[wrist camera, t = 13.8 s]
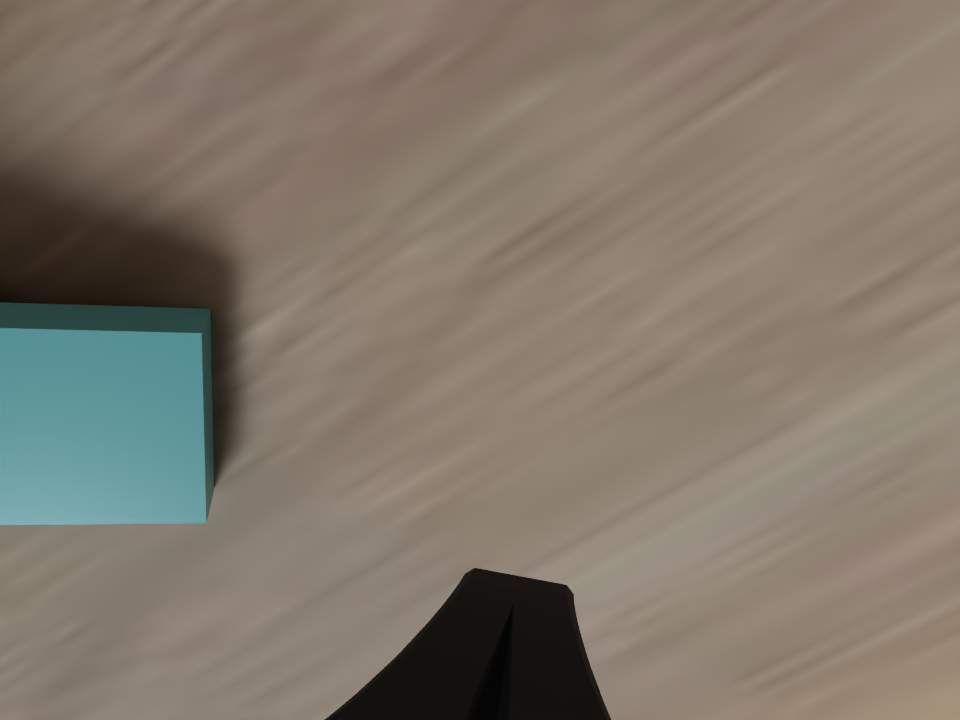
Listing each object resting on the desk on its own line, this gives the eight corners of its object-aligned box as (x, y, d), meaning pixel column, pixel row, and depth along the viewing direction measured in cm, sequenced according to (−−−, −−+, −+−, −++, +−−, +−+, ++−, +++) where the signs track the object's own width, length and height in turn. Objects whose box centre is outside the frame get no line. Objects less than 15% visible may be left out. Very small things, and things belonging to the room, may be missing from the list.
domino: (214, 487, 24) (-161, 489, 23) (210, 308, 23) (-196, 296, 21) (206, 523, 23) (-198, 526, 21) (201, 333, 21) (-241, 322, 19)
